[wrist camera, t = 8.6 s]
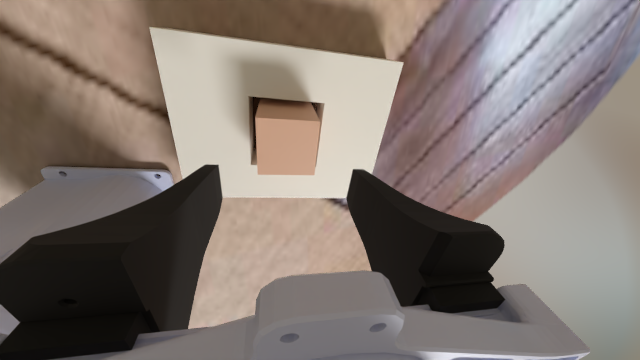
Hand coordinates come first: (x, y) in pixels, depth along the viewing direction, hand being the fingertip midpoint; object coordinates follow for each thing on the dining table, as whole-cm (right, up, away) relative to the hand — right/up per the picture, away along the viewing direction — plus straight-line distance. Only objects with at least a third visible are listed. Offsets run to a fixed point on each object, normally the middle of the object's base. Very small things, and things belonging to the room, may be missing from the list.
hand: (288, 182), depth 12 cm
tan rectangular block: (-1, +5, +8) cm, 9 cm away
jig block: (-1, +5, +8) cm, 9 cm away
